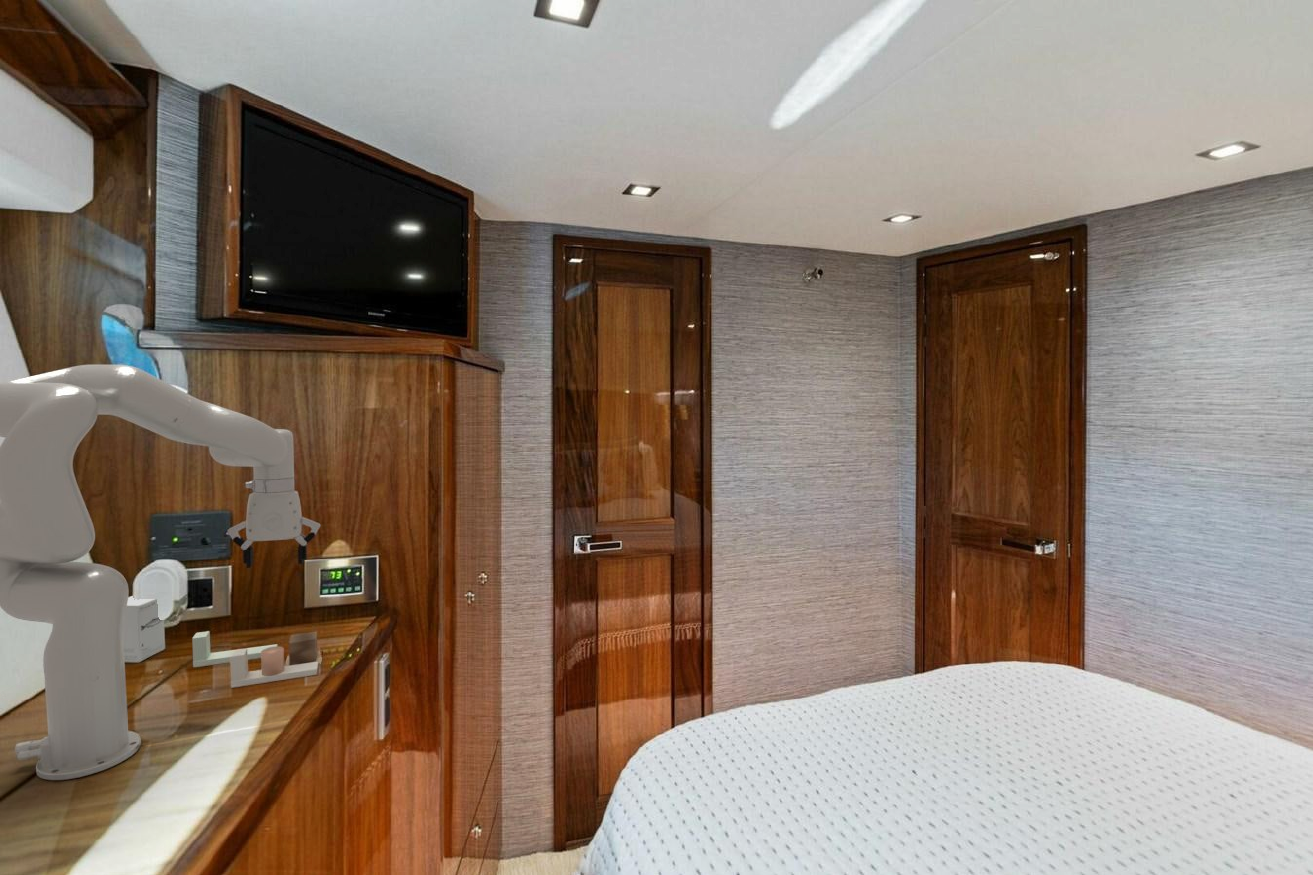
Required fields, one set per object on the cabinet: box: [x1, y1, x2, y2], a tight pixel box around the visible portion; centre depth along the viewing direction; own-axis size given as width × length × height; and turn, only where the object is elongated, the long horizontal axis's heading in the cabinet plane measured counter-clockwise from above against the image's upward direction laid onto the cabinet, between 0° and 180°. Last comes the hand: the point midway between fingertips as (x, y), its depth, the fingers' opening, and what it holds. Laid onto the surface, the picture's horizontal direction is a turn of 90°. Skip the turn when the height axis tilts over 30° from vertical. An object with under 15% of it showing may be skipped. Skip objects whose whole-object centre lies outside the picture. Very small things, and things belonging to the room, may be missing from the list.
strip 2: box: [229, 647, 319, 689], centre depth 131 cm, size 15×4×6 cm, turn 114°
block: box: [288, 631, 318, 666], centre depth 139 cm, size 5×5×5 cm
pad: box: [284, 650, 323, 666], centre depth 139 cm, size 7×7×1 cm
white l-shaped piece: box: [191, 630, 278, 668], centre depth 140 cm, size 15×4×6 cm, turn 114°
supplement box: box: [123, 595, 166, 663], centre depth 142 cm, size 7×7×13 cm
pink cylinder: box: [260, 645, 285, 676], centre depth 131 cm, size 4×4×4 cm
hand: (275, 564), depth 139 cm, fingers open, 9 cm apart
